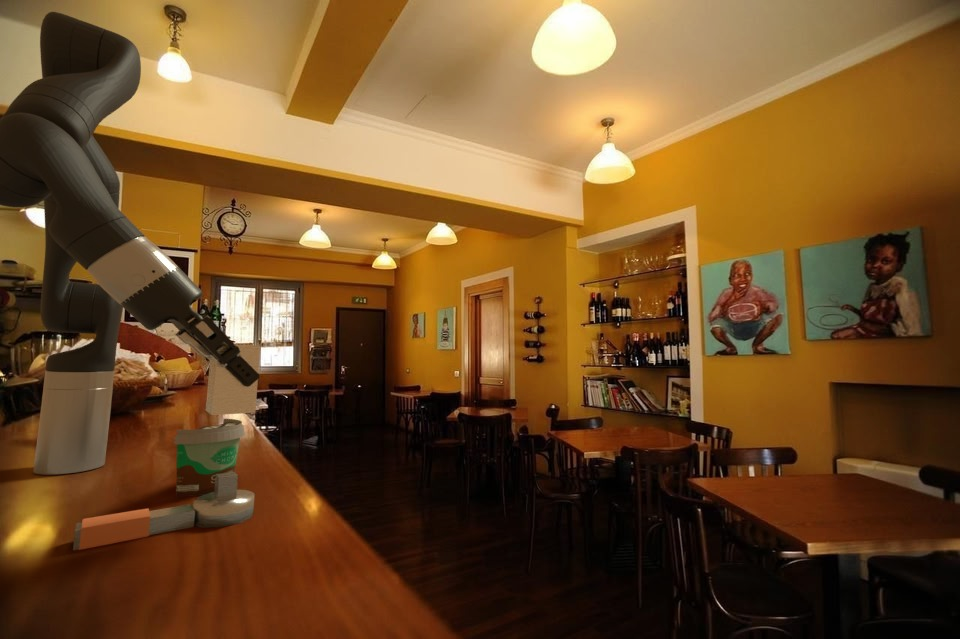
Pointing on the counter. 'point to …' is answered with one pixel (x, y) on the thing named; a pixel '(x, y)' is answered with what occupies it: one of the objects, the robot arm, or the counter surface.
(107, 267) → the robot arm
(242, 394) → the white upright block
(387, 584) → the counter surface
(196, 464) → the food container
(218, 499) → the ratchet
